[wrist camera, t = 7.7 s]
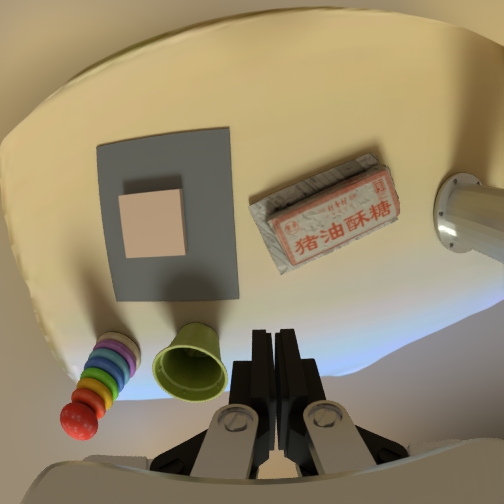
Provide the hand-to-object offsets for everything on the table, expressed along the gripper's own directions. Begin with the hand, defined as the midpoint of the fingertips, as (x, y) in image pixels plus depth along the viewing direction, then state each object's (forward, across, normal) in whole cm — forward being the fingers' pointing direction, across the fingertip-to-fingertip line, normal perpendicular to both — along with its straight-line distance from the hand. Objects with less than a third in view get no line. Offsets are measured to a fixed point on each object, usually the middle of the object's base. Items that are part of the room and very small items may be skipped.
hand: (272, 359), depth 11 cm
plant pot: (+26, +9, +16) cm, 32 cm away
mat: (+26, +12, -2) cm, 29 cm away
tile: (+25, +9, -2) cm, 26 cm away
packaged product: (+27, -8, -2) cm, 29 cm away
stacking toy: (+26, +23, +19) cm, 39 cm away
